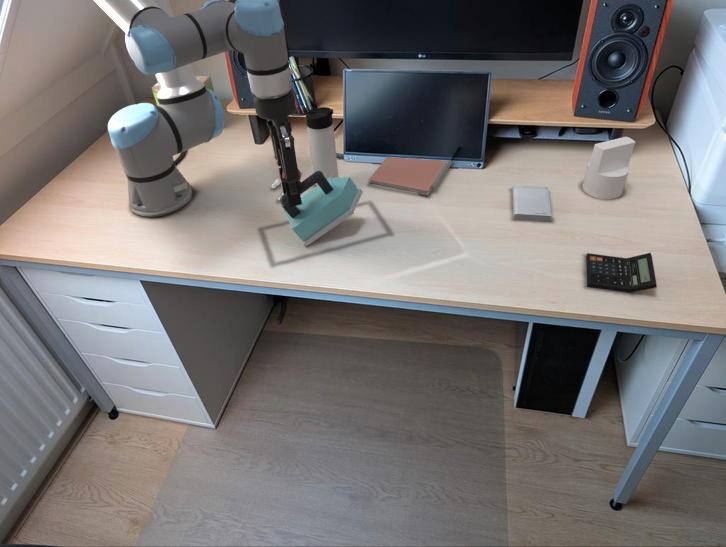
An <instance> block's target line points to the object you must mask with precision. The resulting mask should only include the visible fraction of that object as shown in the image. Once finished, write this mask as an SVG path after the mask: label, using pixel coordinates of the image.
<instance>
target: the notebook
mask: <svg viewBox="0 0 726 547" xmlns="http://www.w3.org/2000/svg"><path fill="white" fill-rule="evenodd" d="M454 161H455V160H453V161H450V160H448V161H441V160H426V159H425V160H423V159H422V160H421V159H406V158H395V157H394V158H392V157H388V156H386V157H385V159H384V160H383V161H382V163H381V164H380V165H379V166H378V167H377V169H375V171H374V172H373V173H372V175H371V176H369V178H368V181H369V182H370V184H372V185H373V184H374V185H379V186H384V187H390V188H394V189H400V190H404V191H410V192H414V193H417V194H418V195H421V196H425V197H426V196H427V197H428V196H429V195H430V194H431V193H432V192H433V193H434V192H435V191H436V190H437V188H438V186H439V185H440V184H441V182H442V180H443V178H444V177H445V176H446V174H447V172H448V171H449V169H450V167H451V166H452V165H453V163H454ZM447 162H448V163H447Z"/></svg>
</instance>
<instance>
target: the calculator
mask: <svg viewBox="0 0 726 547" xmlns="http://www.w3.org/2000/svg"><path fill="white" fill-rule="evenodd" d="M585 261H586V262H585V263H586V264H585V266H586V287H587V288H593V289H598V290H599V289H601V290H606V291H607V290H608V291H615V292H621V293H627V294H630V293H635V292H640V291H646V290H651V289H652V290H653V289H657V288H658V284H657V278H656V273H655V267H654V261H653V255H652V253H651V252H647V253H642V254H639V255H634V256H631V257H621V256H620V257H619V256H613V255H606V254H605V255H604V254H598V253H589V252H587V253H586V257H585Z"/></svg>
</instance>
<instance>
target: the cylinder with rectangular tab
mask: <svg viewBox="0 0 726 547" xmlns="http://www.w3.org/2000/svg"><path fill="white" fill-rule="evenodd" d="M635 145H636V141H635V140H634V139H633V138H631V137H628V136H622V137H619V138H615V139H610V140H606V141H602V142H598V143H594V147H593V150H592V153H591V157H590V160H589V161H588V163H587V166H586V170H585V173H584V178H583V182H582V185H581V186H582V190H583V192H584V193H585V194H587V195H588V196H590V197H593V198H595V199H600V200H612V199H613V200H614V199H616V198H619V197H620V196H622V194H623V192H624V188H625V186H626V183H627V179H628V176H629V174H630V166H629V164H630V161H631V158H632V154H633V152H634V149H635Z"/></svg>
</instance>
